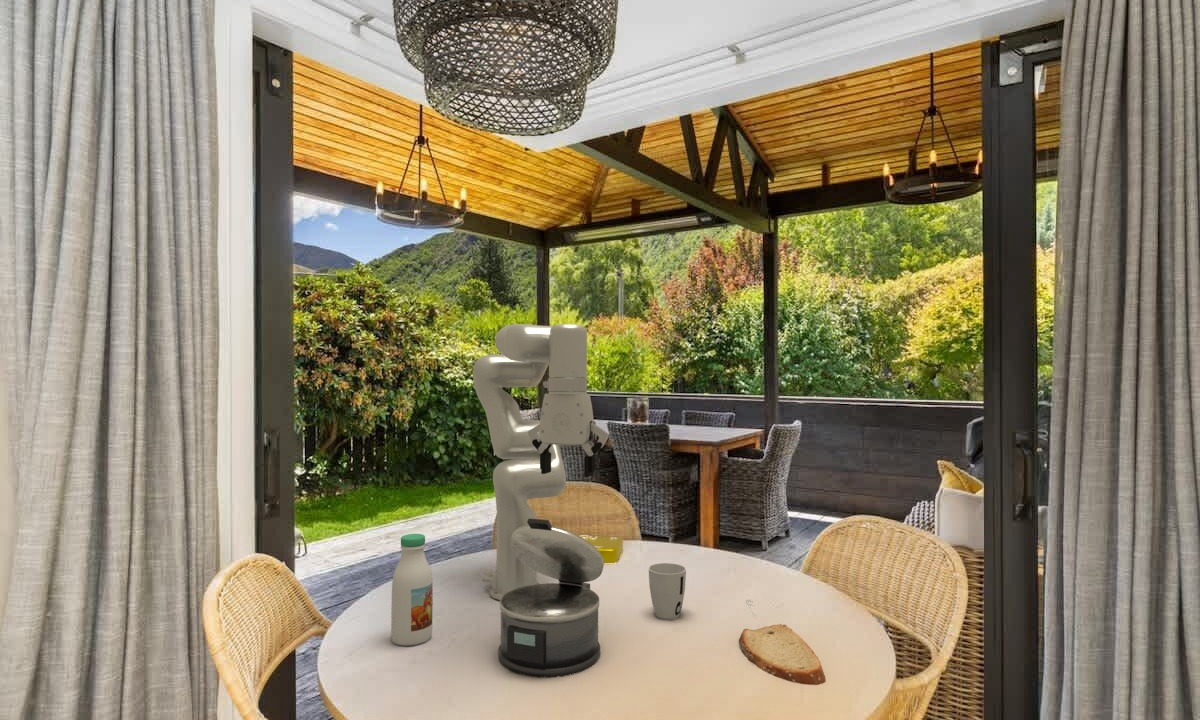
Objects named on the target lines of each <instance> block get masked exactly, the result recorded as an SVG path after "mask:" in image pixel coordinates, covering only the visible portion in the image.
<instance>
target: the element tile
mask: <svg viewBox="0 0 1200 720" xmlns="http://www.w3.org/2000/svg"><path fill="white" fill-rule="evenodd" d="M577 535H578V534H577ZM578 536H580V537H582V538H583V539H585V540H586V541H588V542H589V543H591V544H592V545H593V546H594V547H595V548H596V549H597V550H598V551H599V552H600V554H601V555H602V557H603V560H604V563H615V562H617V561H618V562H619V560H620V558H621V556H622V554H623V552H624V546H623V544H624V542H623V541H624V540H623V538H622V537H620V536H605V535H602V536H601V535H588V534H580V535H578ZM622 551H623V552H622ZM621 553H622V554H621ZM620 555H621V556H620ZM619 557H620V558H619ZM618 559H619V560H618ZM618 562H617V563H618Z"/></svg>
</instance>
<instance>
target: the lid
mask: <svg viewBox="0 0 1200 720" xmlns="http://www.w3.org/2000/svg"><path fill="white" fill-rule="evenodd" d="M527 523H528V525H525V526H522V527H519V528H518V529H516V530H515V531H514V533H513V535H512V537H511V540H510V547H511V550H512V552H513V553H514V554H515V556H516V557H517V558H518V559H519V560H520V561H521V562H523V563H524V564H525V565H527V566H528V567H530V568H531V569H533V570H535V571H537V573H540V574H541V575H543V576H546V577H548V578H551V579H555V580H558V583H568V584H575V585H583V583H588V582H592V581H595V580H597V579H598V578H599V577H600V576H602V573H603V570H604V567H605V564H604V560H603V557H602V555H601V554H600V552H599V551H598V550H597V549H596V548H595V547H594V546H593V545H592V544H591V543H589V542H588V541H586V540H585V539H583V538H582V537H580V536H578V534H576V533H573V532H571V531H569V530H566V529H563V528H561V527H558V526H553V525H552V524H551V522H550V520H547V519H541V518H540V519H539V518H536V519H530V518H529V519H528V521H527Z"/></svg>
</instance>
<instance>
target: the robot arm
mask: <svg viewBox="0 0 1200 720" xmlns="http://www.w3.org/2000/svg"><path fill="white" fill-rule="evenodd" d="M494 343H495V347H496V349H497V351H498V353H499V354H489V355H488V354H487V355H484V356H481V357H479V358H478V359H477V360H476V361H475V362H474V364H473V368H472V369H473V370H472V379H473V381H472V382H473V386H474V390H475V392H476V396H477V397H478V399H479V402H480V404H481V406H482V408H483V410H484V411H485V416H486V422H487V424H488V425H487V426H488V430H489V435H490V439H491V445H492V448H493V451H494V454H495V455H496V456H497V458H499V459H502V460H503V461H501V462H500V463H498V464H497V465H495V466H496V467H494V469H493V473H492V482H493V488H494V489H493V490H494V496H495V497H494V498H495V506H496V507H495V508H496V559H495V561H496V564H495V565H496V567H495V568H496V570H495V571H496V572H495V571H492V570H491V571H490V570H485V571H484V573H483V576H482V582H487V583H491V586H490V588H489V596H490V597H491V598H492V599H494V600H497V601H500V599H501V597H502V596H503V595H504V594H506V593H507V592H509V591H511V590H514V589H517V588H520V587H524V586H528V585H535V584H540V583H539V582H538V581H537V574H538V572H537V571H535V570H533V569H531V568H530V567H528V566H527V565H525V564H524V563H523V562H521V561H520V560H519V559H518V558H517V557H516V556H515V554H514V553H513V552H512V550H511V547H510V540H511V537H512V535H513V533H514V531H515V530H516V529H518V528H519V527H522V526H525V525H528V523H527V521H528V519H529V518H530V519H537V514H536V513H535V511H534V509H532V507H531V506H530V505H529V504H528V502H527V501H528V500H532V499H542V498H543V499H544V498H551V497H557V496H560V495H561V494H563V493H564V491H565V489H566V487H567V486H566V485H567V484H566V483H567V475H566V470H565V466H564V461H563V457H562V454H561V449H560V446H581V447H582V449H583V450H584V452H585V453H586V455H585V456H584V458H583V459H584V465H583V467H584V469H583V471H584V473H583V474H584V477H587V478H589V477H592V476H593V475H594V473H595V472H596V455H598V453H599V452H600V451H601V450H602V449H603V448H604V446H605V444H606V442H607V440H608V439H609V437H610V433H608V432H607V431H605V430H604V429H602V428H601V427H599V426H598V425H596V424H595V423H594V412H593V404H592V400H591V399H592V398H591V395H590V393H587V391H588V380H587V379H588V370H587V369H588V367H587V366H588V363H587V362H588V332H587V329H586V328H585V326H583V325H581V324H575V323H562V324H559V323H558V324H555V325H554V324H553V325H538V324H533V323H518V324H517V323H514V324H513V323H512V324H508V325H505V326H503V327H501V329H499V330H498V332H497V334H496V335H495V341H494ZM547 369H548V377H547V380H543V377H544V375H545V373H546V371H547ZM542 380H543V381H542ZM541 381H542V386H543V388H546V389H547V391H548V393H544V395H543V400H542V405H541V412H540V420H539V419H538V420H536V419H534V420H525V419H523V418H522V415H521V409H520V406H519V404H518V402H517V401H516V399H514V398H513V397H512V396H511V394H510V393H509V392H507V391H505V390H504V389H503V388H533V387H535V386H538V385H539V384H540V383H541ZM595 435H596V436H597V437H598V440H597V441H596V442H595V444H594V442H593V441H594V439H595Z"/></svg>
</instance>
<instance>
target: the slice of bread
mask: <svg viewBox="0 0 1200 720" xmlns="http://www.w3.org/2000/svg"><path fill="white" fill-rule="evenodd" d="M738 644H739V648H740V650H741V653H742V654H743V655H744V657H746V659H747V660H748V661H750V662H751V663H753V664H754V665H755V666H756V667H757V668H758V669H760V670H762V671H763V672H766V673H768V674H769V675H772V676H774V677H776V678H779V679H781V680H785V681H787V682H788V681H789V682H792V683H797V684H801V685H810V686H818V685H819V686H820V685H821V684H825V683H826V681H827V680H826V675H825V672H824V669H823V667H822V664H821V661H820V660H819V657H818V656H817V655H816V654H815V652H814V651H813V649H812V648H811V647H810V646H809V645H808V643H807V642H806V641H805V640H803V638H801V636H800V635H799V634H797V632H795V631H794V630H793V629H792V628H791V627H789V626H787V624H782V623H779V624H773V625H768V626H763V627H761V628H758V629H749V628H744V629H743V630H742V632H741V634H740V636H739V639H738Z"/></svg>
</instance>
